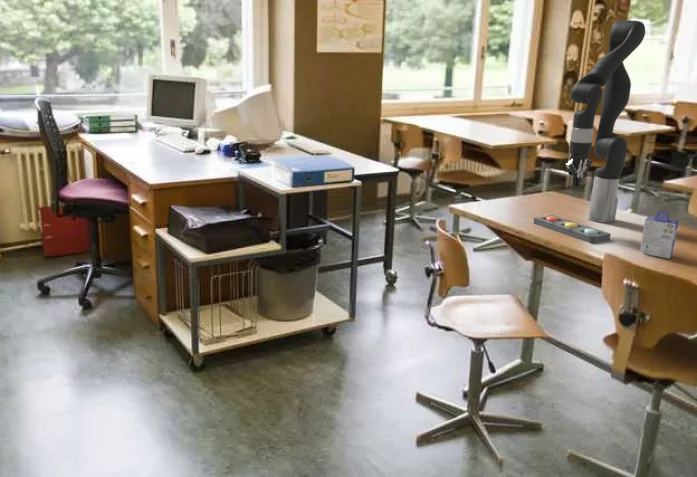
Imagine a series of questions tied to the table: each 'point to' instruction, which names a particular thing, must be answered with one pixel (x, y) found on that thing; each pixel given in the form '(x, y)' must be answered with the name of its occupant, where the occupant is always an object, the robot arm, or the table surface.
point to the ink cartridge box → (659, 236)
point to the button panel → (572, 230)
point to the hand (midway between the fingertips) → (575, 186)
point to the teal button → (591, 231)
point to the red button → (552, 218)
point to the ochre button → (571, 225)
